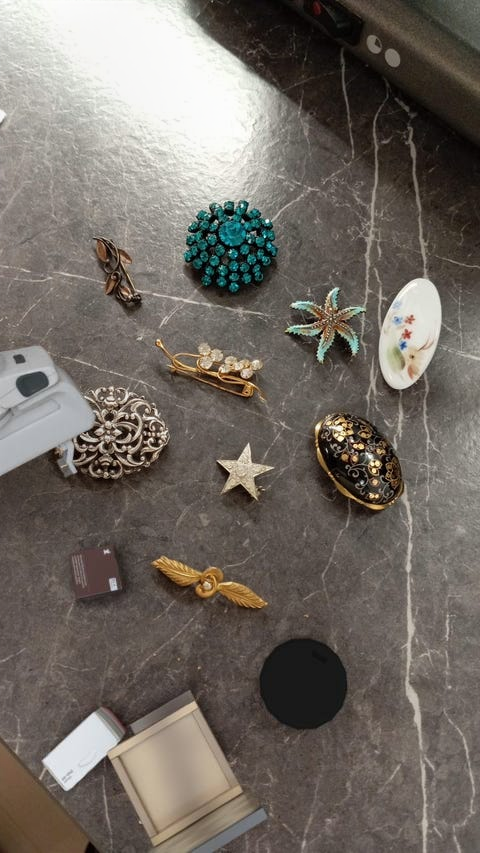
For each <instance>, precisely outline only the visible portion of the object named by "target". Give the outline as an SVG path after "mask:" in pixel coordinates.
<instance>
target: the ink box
mask: <svg viewBox="0 0 480 853" xmlns="http://www.w3.org/2000/svg"><path fill="white" fill-rule="evenodd" d="M125 734H127V729H126V727H125V726H124V725H123V724H122V722H121V721H120V720H119V718H118V717H117V716H116V715H115V714H114V713H113V712H112V711H111V710H110V709H109V708H107V707H106V706H105V705H102V706H100V707H99V708H98V709H96V710H95V711H93V712H92V713H91V714H90V715H88V716H87V717H86V718H85V719H83V721H82V722H80V723H79V724H78V725H77V726H76V727H75V728H74V729H73V730H72V731H70V732H69V734H67V736H65V737H64V738H63V739H62V740H61V741H60V742H59V743H58V744H57V745H56V746H55V747H54V748H53V749H52V750H51V751H50V752H49V753H48V754H47V755H45V757H44V758H43V759H42V760H41V763H42V764H43V766H44V768H46V770H47V771H48V772H49V773H50V774H51V776H52V778H54V779H55V781H56V782H57V783H58V784H59V785H60V786H61V788H62V789H63V790H64V791H65V792H68V791H70V790H71V789H73V788H74V787H75V786H76V784H77V783H78V782H80V781H81V780H82V779H83V778H84V777H85V776H86V775H87V774H88V773H89V772H91V771H92V769H94V768H95V766H97V765H98V764H99V763H100V762H101V761H102V760H103V759H104V758H105V757H106V756H108V755H107V751H108V750H109V749H111V748H113V747H115V746H116V745H118V744H119V743H120V742H121V740H122V739H123V738H124V736H125Z"/></svg>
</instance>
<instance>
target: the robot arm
mask: <svg viewBox="0 0 480 853" xmlns="http://www.w3.org/2000/svg"><path fill="white" fill-rule="evenodd" d="M96 419H97V416H96V414H95V412H94V410H93V408H92V407H91V405H90V403H89V401H88V400H87V398H86V397H85V395H84V393H83V392H82V391H81V389H80V387H79V386H78V384H76V382H75V381H74V379H72V377H71V375H69V374H68V373H67V371H65V369H63V368H62V367H60V366H57V365H56V363H55V361H54V359H53V357H52V356H51V355H50V353H49V352H48V351H47V350H46V349H45V348H44V347H42V346H41V345H31V346H27V347H21V348H20V347H19V348H16V349H15V348H14V349H9V350H2V351H0V477H1V476H3V475H5V474H7V473H9V472H11V471H13V470H15V469H17V468H18V467H21V466H22V465H24V464H26V463H28V462H30V461H31V460H33V459H36V458H38V457H39V456H41V455H44V454H46V453H48V452H50V451H51V450H53V449H55V448H57V447H59V448H60V449H61V451H62V457H60V458H58V459H57V460H56V463H57V465H58V467H59V470H60V471H61V472H62V474H63V476H64V478H65V479H67V478H69V477H71V476H73V475H75V474H77V473H78V470H77V469H76V466H75V464H74V462H73V461H74V460H73V459H74V454H75V444H74V442H73V440H72V439H74V438H76V437H78V436H80V435H82V434H83V433H85V432H88V431H90V430H91V429H93V428H94V426H95V424H96Z"/></svg>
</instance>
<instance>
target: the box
mask: <svg viewBox="0 0 480 853" xmlns="http://www.w3.org/2000/svg"><path fill="white" fill-rule="evenodd" d="M68 561H69V568H70V573H71V579H72V584H73V590H74V595H75V598H76V599H77V600H79V601H80V602H82V603H83V602H84V603H85V602H88V601H93V600H97V599H101V598H107V597H111V596H114V595H119V594H124V593H125V592H126V588H125V583H124V578H123V577H124V576H123V572H122V567H121V561H120V557H119V551H118V549H117V548H116V546H115V545H114V544H113V543H111V544H107V545H102V546H97V547H93V548H87V549H83V550H80V551H75V552H70V553H68Z"/></svg>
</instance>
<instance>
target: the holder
mask: <svg viewBox="0 0 480 853" xmlns="http://www.w3.org/2000/svg"><path fill="white" fill-rule="evenodd" d="M196 701H197V700H196ZM196 701H195V700H192V701H191V702H189V703H187V704H186V705H184V706H182V707H181V708H179V709H177V710H176V711H174V712H172V713H170V714H169V715H167V716H165V717H164V718H162V719H160V720H159V721H157V722H155V723H153V724H152V725H150V726H148V727H147V728H145V729H143V730H142V731H140V732H138V733H137V734H135V735H134V734H133V735H131V736H130V737H128V738H126V739H125V740H123V741H120V742H119V743H117V745H116V746H115V747H113V748H111V749H109V750H108V751H107V755H106V756H107V757H108V759H109V760H110V762H111V765H112V766H113V769H114V770H115V774H116V775H117V776H118V778H119V781H120V783H121V784H122V786H123V788H124V790H125V792H126V794H127V796H128V799H129V800H130V802H131V804H132V806H133V809H134V810H135V812H136V814H137V815H138V816H137V817H138V818H139V820H140V822H141V824H142V826H143V828H144V830H145V832H146V834H147V836H148V838H149V840H150V842H151V844H152V847H153V846H154V847H155V846H157V845H158V844H160V843H162V842H163V841H165V840H166V839H168V838H170V837H171V836H173V835H175V834H176V833H178V832H179V831H181V830H183V829H184V828H186V827H188V826H189V825H191V824H192V823H194V822H196V821H197V820H199V819H201V818H202V817H204V816H205V815H207V814H209V813H210V812H212V811H213V810H215V809H217V808H218V807H220V806H222V805H223V804H225V803H226V802H228V801H230V800H231V799H233V798H235V797H236V796H238V795H239V794H241V793H243V791H244V789H243V787H242V786H241V784H240V782H239V780H238V778H237V776H236V774H235V772H234V771H233V768H232V767H231V765H230V763H229V761H228V758H227V759H226V757H227V756H226V755H225V756H226V757H225V756H224V754H225V753H224V754H223V752H224V751H223V752H222V750H223V749H222V750H221V748H222V747H221V748H220V746H221V745H220V746H219V744H220V743H219V744H218V742H219V741H218V740H217V741H218V742H217V741H216V739H217V738H216V739H215V737H216V736H215V737H214V735H215V734H214V735H213V733H214V732H213V733H212V731H213V730H212V731H211V729H212V728H211V729H210V727H211V726H210V725H209V726H210V727H209V726H208V724H209V723H208V724H207V722H208V721H207V722H206V720H207V719H206V720H205V718H206V717H205V718H204V716H205V715H204V716H203V714H204V713H203V714H202V712H203V711H202V709H201V708H200V709H201V710H200V709H199V707H200V706H199V707H198V705H199V704H198V705H197V703H198V702H197V703H196ZM201 711H202V712H201Z"/></svg>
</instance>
